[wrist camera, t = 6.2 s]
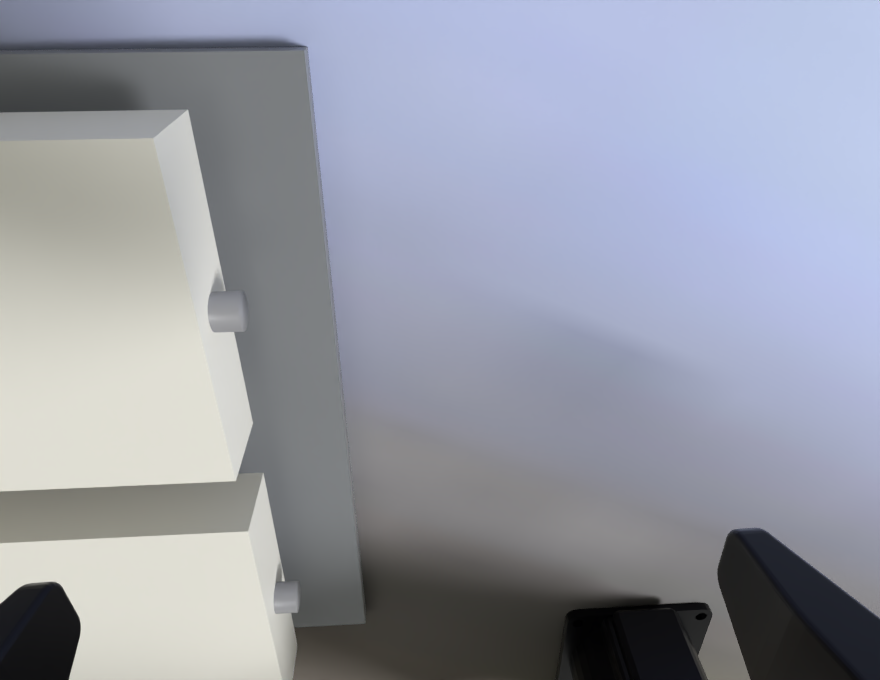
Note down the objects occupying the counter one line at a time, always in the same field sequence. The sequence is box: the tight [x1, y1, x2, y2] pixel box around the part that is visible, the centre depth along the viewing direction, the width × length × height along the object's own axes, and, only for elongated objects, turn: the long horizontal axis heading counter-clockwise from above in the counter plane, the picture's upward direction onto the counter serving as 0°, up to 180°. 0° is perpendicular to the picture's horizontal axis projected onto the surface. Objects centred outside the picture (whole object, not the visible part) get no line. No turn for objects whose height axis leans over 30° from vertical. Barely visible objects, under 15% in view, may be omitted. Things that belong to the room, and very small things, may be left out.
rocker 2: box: [0, 473, 300, 680], centre depth 21 cm, size 9×12×2 cm
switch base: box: [0, 47, 366, 628], centre depth 21 cm, size 22×16×1 cm
